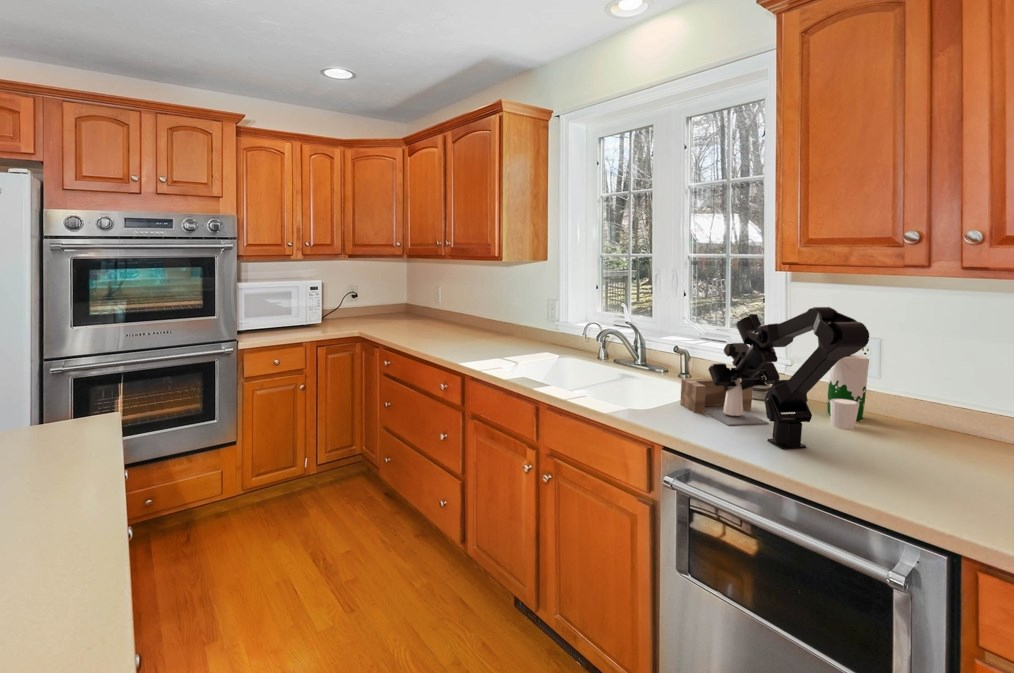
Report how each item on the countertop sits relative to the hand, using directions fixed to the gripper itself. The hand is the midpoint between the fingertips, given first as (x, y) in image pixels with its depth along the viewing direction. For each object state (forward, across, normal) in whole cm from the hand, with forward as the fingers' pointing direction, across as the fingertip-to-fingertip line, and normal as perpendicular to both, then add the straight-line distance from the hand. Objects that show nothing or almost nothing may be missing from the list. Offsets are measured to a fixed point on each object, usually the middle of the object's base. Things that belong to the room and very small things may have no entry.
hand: (731, 389), depth 165 cm
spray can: (+18, -20, -8) cm, 28 cm away
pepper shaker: (+4, 0, +6) cm, 7 cm away
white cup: (-4, -25, +16) cm, 30 cm away
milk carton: (+1, -32, +10) cm, 33 cm away
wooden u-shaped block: (+12, 0, -1) cm, 12 cm away
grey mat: (+3, 0, +8) cm, 8 cm away
